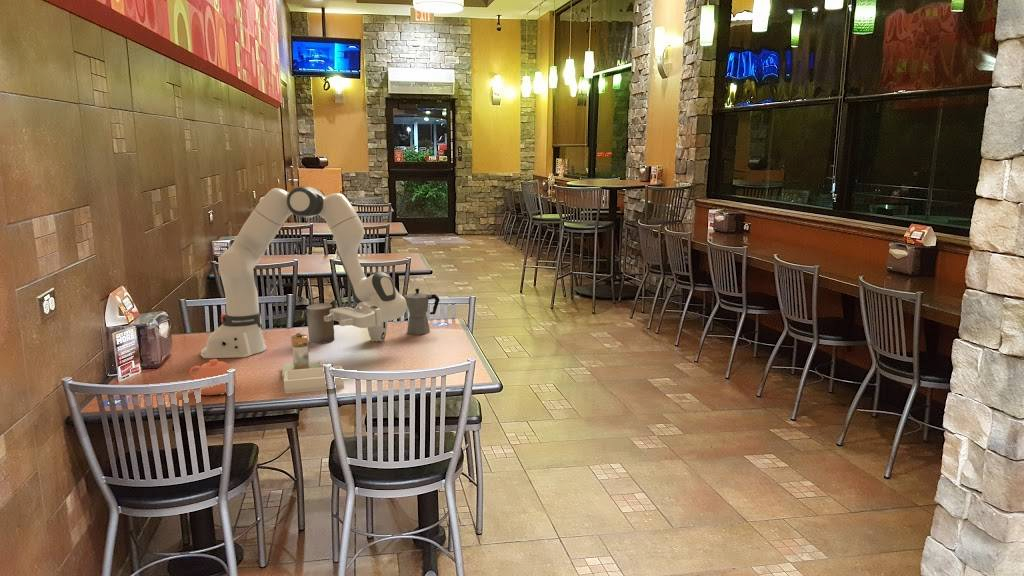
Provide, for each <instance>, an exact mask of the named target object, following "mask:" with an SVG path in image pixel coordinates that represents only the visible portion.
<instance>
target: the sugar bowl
mask: <svg viewBox="0 0 1024 576" xmlns="http://www.w3.org/2000/svg"><path fill="white" fill-rule="evenodd" d="M195 369H197V372H196V374H195V375H194V372H193V370H195ZM229 369H232V368H231V366H230V365H229V364H228V363H227V362H225V361H219V360H218V358H210V359H209V360H208V362H205V363H203V364H202V365H201V366H200V365H193V366H192V367H190V369H189V376H190V379H191V380H194V379H201V378H206V377H213V376H218V375H223V374H225V373H226V372H227V370H229ZM237 384H238V379H237V375H236V374H235V386H237ZM201 393H202V394H203V395H206V396H214V395H215V396H217V395H218V394H222V393H225V384H220V385H216V386H213V387H209V388H205V389H202V390H201ZM202 394H201V395H202ZM225 394H226V393H225ZM203 395H202V396H203Z"/></svg>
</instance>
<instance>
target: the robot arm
mask: <svg viewBox="0 0 1024 576" xmlns="http://www.w3.org/2000/svg"><path fill="white" fill-rule="evenodd" d="M291 215H294V216H296V217H300V218H315V217H318V216H320V217H321V218H322V219H324V221H325V222H326V223H327V226H328V228H329V230H330V232H331V234H332V237H333V238H334V241H335V244H336V250H337V254H338V258H339V260H340V263H341V265H342V268H343V270H344V273H345V275H346V277H347V280H348V282H349V285H350V290H351V295H352V298H353V300H354V302H355V303H356V304H357V305H356V307H350V306H342V307H335V308H332V309H331V310H330V311H329V315H328V316H324V321H326V322H328V321H331V320H333V321H335V322H338V326H340V327H346V326H353V327H355V328H360V329H368V328H367V327H373V326H374V327H379V326H381V322H387V323H389V322H391V321H392V322H393V321H394V320H397V319H399V318H401V317H403V316H405V314H406V311H407V309H408V306H407V303H406V300H405V298H404V297H403V296H404V295H402V294H401V293H399V291H398V289H397V288H396V286H395V283H394V280H393V278H392V277H391V275H389V274H388V273H386V272H383V271H377V272H375V273H373V274H372V275H369V276H368V277H367V276H366V275H365V273H364V270H363V267H362V265H361V263H360V260H359V257H358V252H359V248H360V246H361V243H362V242H363V240H364V237H365V228H364V225H363V222H362V221H361V219H360V216H359V215H358V213H357V211H356V210H355V208H354V206H353V205H352V203H351V202H350V201H349V199H348V198H347V197H346V196H345V195H344V194H342V193H340V192H334V193H329V194H328V195H325V194H324V193H323V191H322V190H321V189H319V188H315V187H313V186H309V185H308V186H305V185H304V186H303V185H301V186H297V187H294V188H293V189H292V190H290V191H289V192H288V191H287V190H285V189H282V188H279V187H274V188H271V189H270V190H269V191H267V193H266V194H265V195H264V196H263V197H262V198H261V200H260V201H259V202H258V203H257V205H256V206H255V207H254V209H253V210H252V212H251V213H250V215H249V216H248V217H247V219H246V221H245V222H244V223H243V225H242V227H241V228H240V231H239V232H238V234H237V235H236V237H235V238H234V240H233V242H232V244H231V246H229V248H228V249H226V250H224V252H222V253H221V255H220V256H219V258H218V270H219V273H220V279H221V282H222V286H223V290H224V296H225V297H224V298H225V306H226V307H225V309H226V310H225V311H226V313H225V312H223V313H222V314H221V315H220V320H221V322H220V323H221V325H219V326H218V327H217V328H216V329H215V330H214V331H212V332H211V333H210V334H209V336H208V338H207V340H206V347H204V348H202V349H201V351H200V357H201V356H202V357H203V358H202V357H201V358H202V359H225V358H226V359H227V358H228V359H229V358H230V359H231V358H234V359H235V358H247V357H250V356H251V355H255V354H259V353H262V352H264V351H266V350H267V348H268V347H267V344H266V342H265V340H264V336H263V332H262V331H263V330H262V324H263V323H262V315H261V311H260V308H259V294H258V289H257V285H256V280H255V276H254V269H255V267H256V266H257V264H259V262H260V260H261V258H262V257H263V255H264V254H265V253H266V250H267V249H268V248H269V246H270V244H272V242H273V240H274V239H275V238H276V236H277V234H278V233H279V232H280V230H281V228H282V227H283V225H284V224H285V222H286V221H287V219H288V218H289V217H291Z"/></svg>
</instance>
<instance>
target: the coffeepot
mask: <svg viewBox="0 0 1024 576" xmlns="http://www.w3.org/2000/svg"><path fill="white" fill-rule="evenodd" d="M402 296H403V297H404V298H405V300H406V303H407V310H408V311H407V312H408V313H409V316H408V323H407V329H406V331H407V334H409V335H412V334H416V335H415V336H420V335H419V334H423V335H427V334H429V333H430V332H431V330H430V325H429V320H428V315H427V312H428V308H429V307H428V306H429V300H435V301H434V302H433V304H434V305H433V307H432V311H430V312H429V315H436V311H437V308H438V306H439V302H440V297H439V296H438V295H437V294H431V293H430V294H427V293H422V292H420V288H415V292H413V293H410V294H406V295H405V294H404V295H402ZM428 332H429V333H428ZM426 333H427V334H426Z"/></svg>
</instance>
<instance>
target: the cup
mask: <svg viewBox="0 0 1024 576" xmlns="http://www.w3.org/2000/svg"><path fill="white" fill-rule="evenodd" d="M366 329H367V331H368V336H369V338H370V341H371V342H373V341H376V342H375V343H378V342H377V341H381V342H384V341H385V340H386V335H387V331H388V330H387V329H388V322H381V326H379V327H374V326H373V327H367V328H366ZM383 340H384V341H383Z"/></svg>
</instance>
